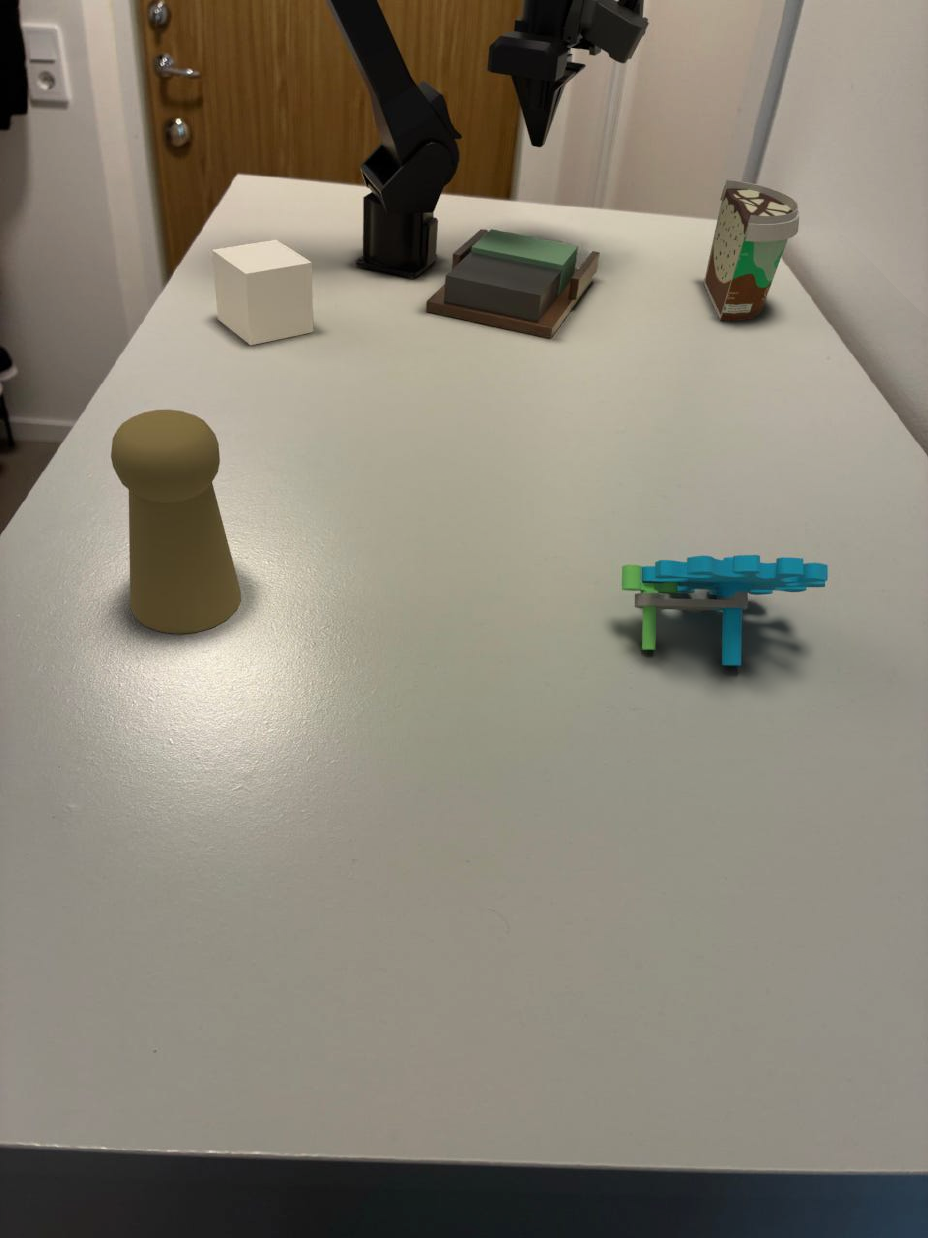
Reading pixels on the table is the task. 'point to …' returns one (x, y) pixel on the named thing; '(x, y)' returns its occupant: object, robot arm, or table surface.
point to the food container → (748, 247)
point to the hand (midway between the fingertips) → (537, 145)
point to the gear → (716, 590)
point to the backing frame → (509, 291)
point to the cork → (175, 523)
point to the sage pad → (530, 252)
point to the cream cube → (263, 291)
